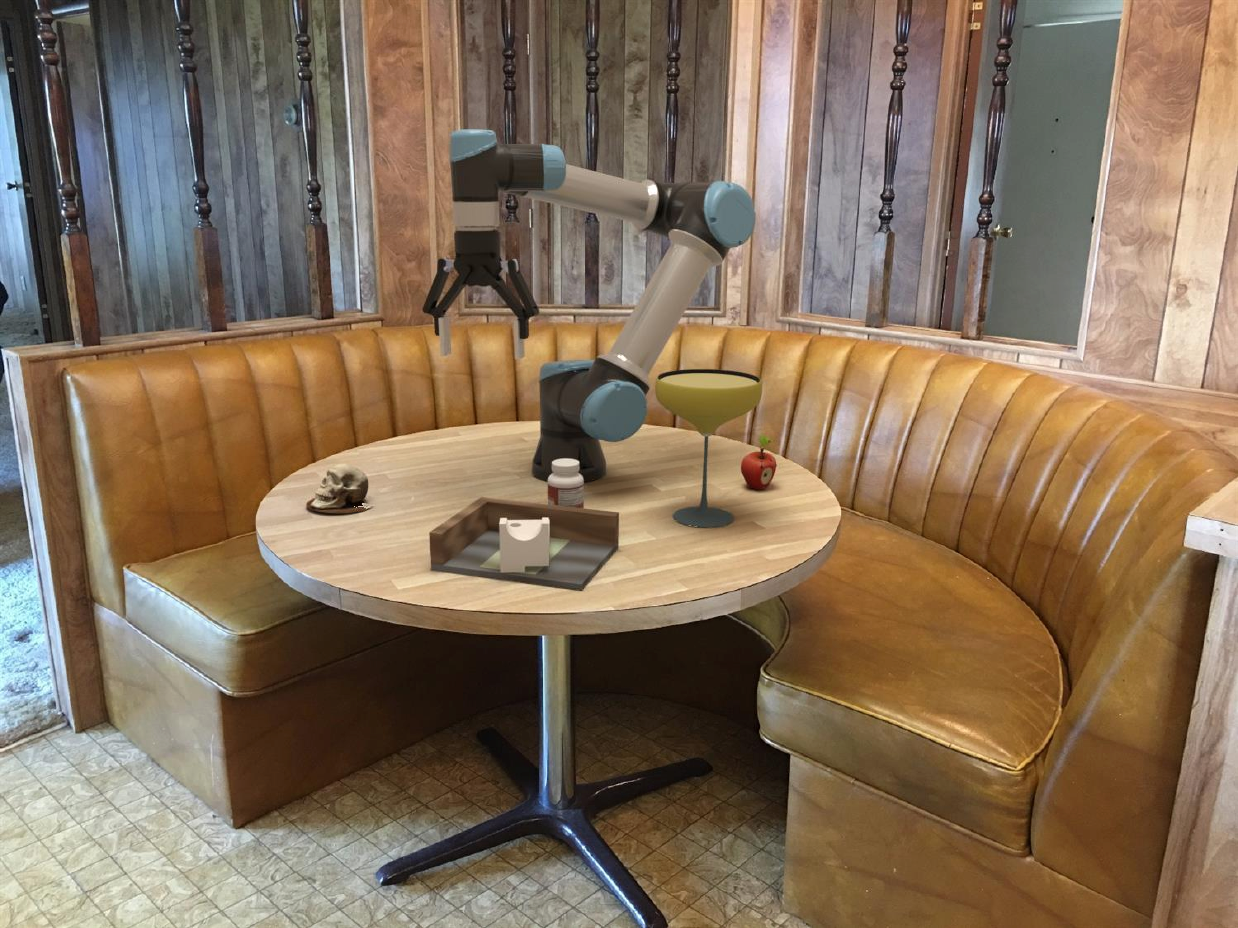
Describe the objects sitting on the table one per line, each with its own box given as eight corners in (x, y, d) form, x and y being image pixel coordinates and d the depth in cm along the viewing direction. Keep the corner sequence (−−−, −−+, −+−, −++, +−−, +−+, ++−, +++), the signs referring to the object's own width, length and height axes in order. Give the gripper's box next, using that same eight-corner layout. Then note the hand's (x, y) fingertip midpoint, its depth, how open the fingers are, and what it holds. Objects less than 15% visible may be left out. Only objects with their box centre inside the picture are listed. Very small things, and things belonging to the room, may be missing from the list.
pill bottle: (547, 518, 163) (546, 457, 160) (582, 517, 164) (582, 456, 161) (548, 530, 157) (547, 467, 154) (584, 529, 158) (584, 466, 155)
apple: (777, 493, 178) (780, 443, 176) (742, 493, 178) (744, 442, 175) (771, 481, 186) (773, 433, 183) (737, 481, 186) (739, 432, 183)
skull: (324, 517, 159) (304, 465, 162) (311, 542, 167) (292, 492, 170) (389, 501, 167) (368, 452, 169) (374, 526, 174) (354, 479, 177)
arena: (482, 530, 156) (481, 496, 155) (618, 547, 150) (618, 512, 148) (431, 569, 140) (429, 532, 138) (581, 590, 133) (581, 551, 132)
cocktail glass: (728, 542, 152) (735, 393, 145) (633, 522, 161) (635, 380, 154) (770, 512, 167) (778, 375, 160) (681, 495, 176) (685, 365, 169)
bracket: (548, 571, 137) (548, 523, 135) (500, 572, 137) (499, 524, 134) (549, 540, 149) (549, 495, 147) (505, 540, 149) (504, 496, 147)
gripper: (555, 228, 154) (558, 355, 160) (417, 227, 160) (425, 349, 166) (540, 230, 147) (544, 363, 153) (397, 229, 153) (406, 357, 159)
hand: (482, 356), depth 159 cm, fingers open, 13 cm apart
